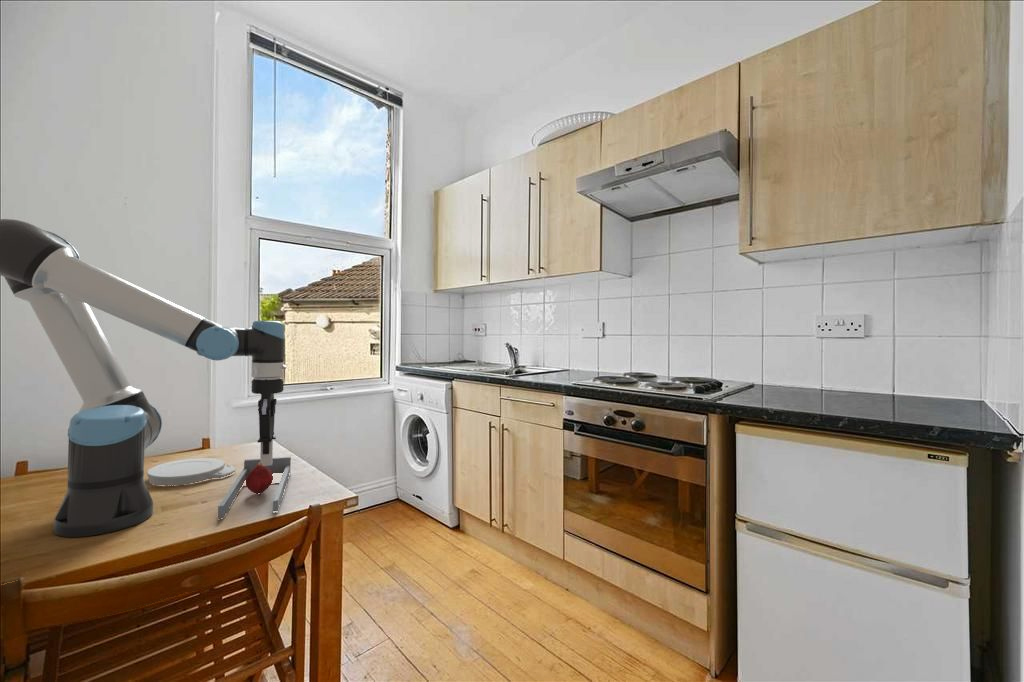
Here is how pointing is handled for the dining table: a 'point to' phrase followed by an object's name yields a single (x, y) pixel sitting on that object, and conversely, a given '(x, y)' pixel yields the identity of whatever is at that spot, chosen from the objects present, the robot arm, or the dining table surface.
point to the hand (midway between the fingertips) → (266, 464)
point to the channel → (249, 464)
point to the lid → (188, 471)
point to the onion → (259, 479)
